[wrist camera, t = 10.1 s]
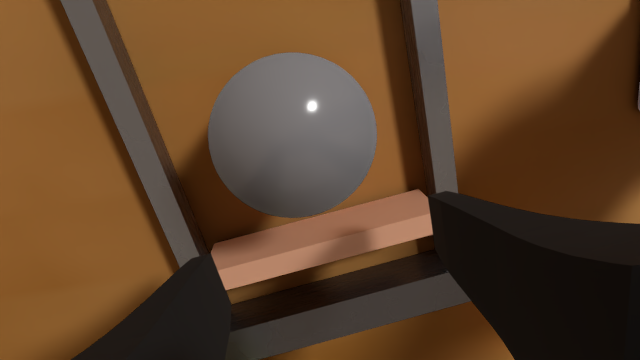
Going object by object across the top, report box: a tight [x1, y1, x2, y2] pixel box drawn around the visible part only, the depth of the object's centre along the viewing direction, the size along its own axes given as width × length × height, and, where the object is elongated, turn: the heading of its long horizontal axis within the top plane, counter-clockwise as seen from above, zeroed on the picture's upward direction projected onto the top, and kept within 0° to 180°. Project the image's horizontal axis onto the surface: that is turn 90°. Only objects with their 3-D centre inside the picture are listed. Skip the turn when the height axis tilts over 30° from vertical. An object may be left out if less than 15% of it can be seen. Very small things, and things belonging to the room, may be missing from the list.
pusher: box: [211, 189, 433, 290], centre depth 16 cm, size 10×1×2 cm, turn 104°
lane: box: [61, 0, 471, 360], centre depth 15 cm, size 13×18×2 cm
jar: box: [208, 53, 377, 218], centre depth 13 cm, size 5×5×6 cm
